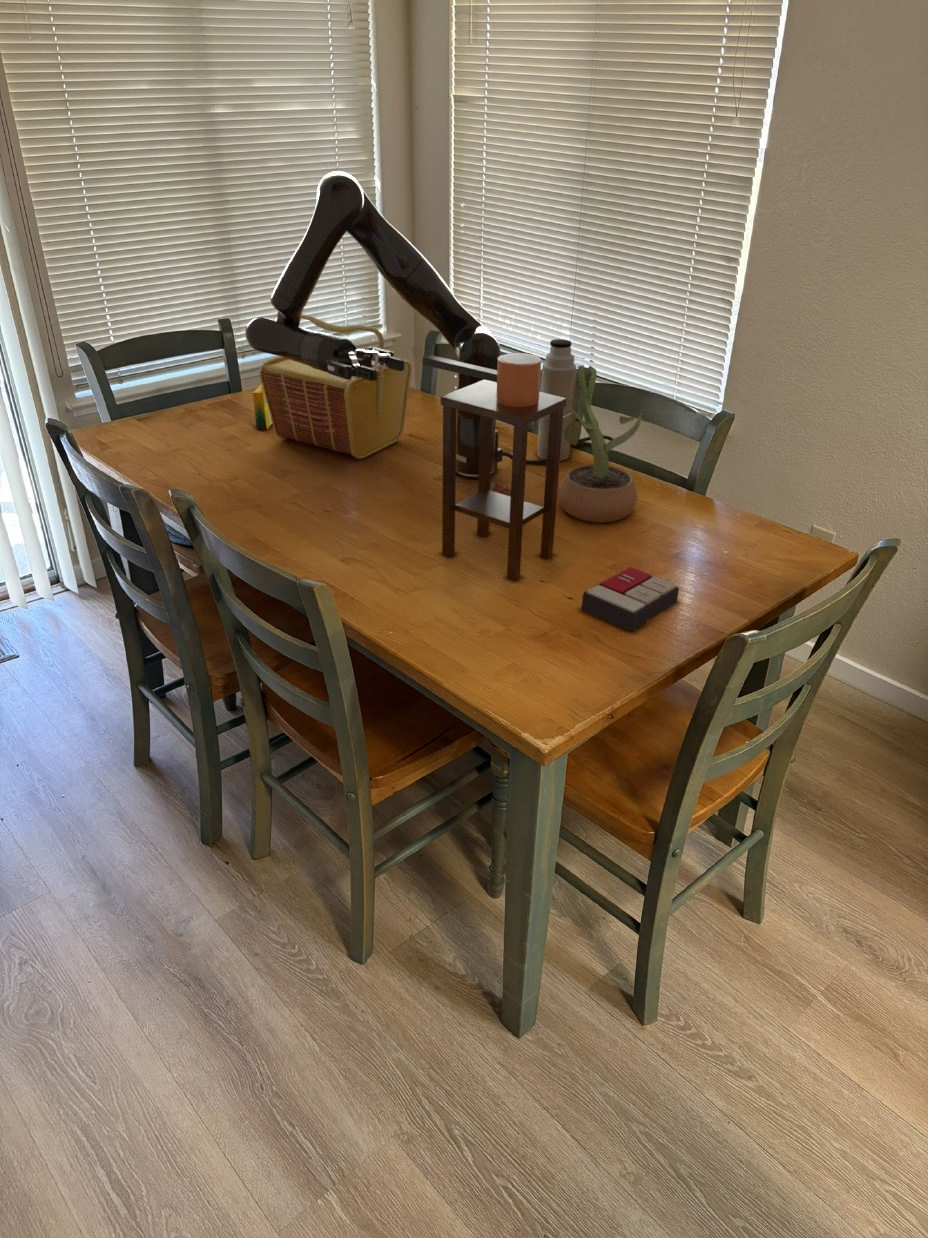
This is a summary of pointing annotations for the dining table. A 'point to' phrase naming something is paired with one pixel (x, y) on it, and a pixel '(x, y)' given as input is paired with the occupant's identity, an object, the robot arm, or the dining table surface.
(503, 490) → the fruit slice
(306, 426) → the picnic basket
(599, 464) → the potted plant
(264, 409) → the crayon box
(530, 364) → the dipper cup
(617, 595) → the calculator
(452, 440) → the plant stand
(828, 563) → the dining table surface
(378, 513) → the dining table surface
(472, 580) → the dining table surface
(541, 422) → the thermos bottle
